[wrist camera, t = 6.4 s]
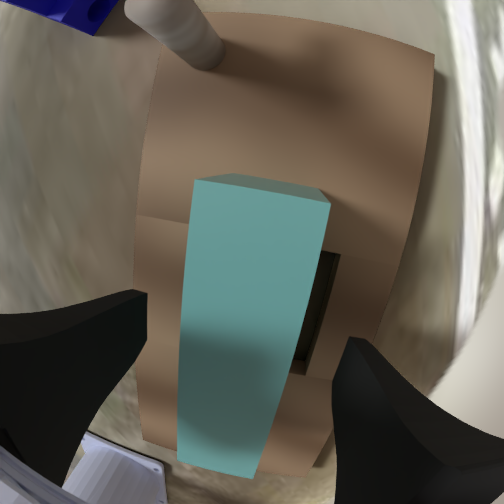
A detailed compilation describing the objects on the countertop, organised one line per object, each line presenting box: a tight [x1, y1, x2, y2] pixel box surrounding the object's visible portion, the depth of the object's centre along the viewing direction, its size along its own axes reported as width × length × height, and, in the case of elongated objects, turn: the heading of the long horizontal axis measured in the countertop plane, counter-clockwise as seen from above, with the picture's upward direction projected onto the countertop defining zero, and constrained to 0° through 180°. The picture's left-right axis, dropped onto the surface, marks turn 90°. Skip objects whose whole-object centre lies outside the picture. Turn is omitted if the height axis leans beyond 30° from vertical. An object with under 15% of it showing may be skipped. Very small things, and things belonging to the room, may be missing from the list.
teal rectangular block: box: [177, 173, 331, 479], centre depth 11 cm, size 11×3×4 cm, turn 170°
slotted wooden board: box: [124, 0, 435, 477], centre depth 11 cm, size 25×11×6 cm, turn 170°
